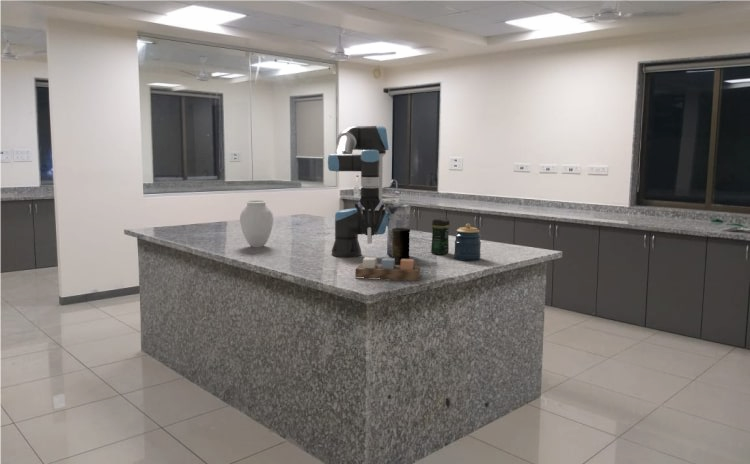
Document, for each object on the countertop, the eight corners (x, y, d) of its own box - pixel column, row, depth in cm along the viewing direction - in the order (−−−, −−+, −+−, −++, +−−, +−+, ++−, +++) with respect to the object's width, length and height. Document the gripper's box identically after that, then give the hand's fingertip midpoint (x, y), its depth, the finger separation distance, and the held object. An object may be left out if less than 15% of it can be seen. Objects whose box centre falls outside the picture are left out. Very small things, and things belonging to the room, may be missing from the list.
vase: (270, 249, 307) (269, 203, 303) (237, 249, 307) (235, 202, 303) (276, 244, 324) (275, 200, 321) (245, 243, 324) (243, 199, 321)
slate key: (381, 274, 241) (381, 260, 240) (383, 271, 246) (383, 258, 245) (393, 274, 240) (393, 260, 239) (394, 272, 245) (394, 258, 244)
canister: (464, 255, 294) (465, 221, 292) (485, 258, 285) (487, 223, 282) (448, 258, 285) (449, 223, 282) (470, 262, 276) (471, 225, 273)
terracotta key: (400, 275, 240) (400, 260, 239) (401, 272, 245) (401, 258, 244) (412, 275, 239) (412, 261, 238) (413, 273, 244) (413, 259, 243)
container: (389, 266, 265) (389, 227, 263) (408, 266, 266) (409, 227, 264) (391, 270, 256) (392, 230, 254) (411, 270, 257) (412, 230, 255)
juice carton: (410, 255, 293) (412, 202, 289) (397, 257, 286) (399, 203, 282) (397, 252, 299) (399, 201, 295) (384, 255, 291) (385, 202, 288)
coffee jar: (442, 255, 293) (443, 219, 290) (428, 254, 297) (429, 218, 294) (451, 252, 301) (452, 217, 298) (437, 251, 305) (438, 216, 302)
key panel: (355, 278, 240) (355, 268, 239) (360, 272, 251) (360, 263, 250) (417, 280, 236) (417, 271, 235) (419, 275, 247) (420, 266, 246)
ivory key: (362, 273, 242) (362, 259, 241) (364, 271, 247) (364, 257, 246) (374, 274, 241) (374, 259, 241) (376, 271, 246) (376, 257, 245)
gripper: (352, 187, 236) (352, 244, 240) (384, 188, 234) (383, 245, 238) (356, 186, 244) (356, 240, 247) (386, 186, 242) (386, 241, 245)
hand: (369, 242), depth 243 cm, fingers closed
